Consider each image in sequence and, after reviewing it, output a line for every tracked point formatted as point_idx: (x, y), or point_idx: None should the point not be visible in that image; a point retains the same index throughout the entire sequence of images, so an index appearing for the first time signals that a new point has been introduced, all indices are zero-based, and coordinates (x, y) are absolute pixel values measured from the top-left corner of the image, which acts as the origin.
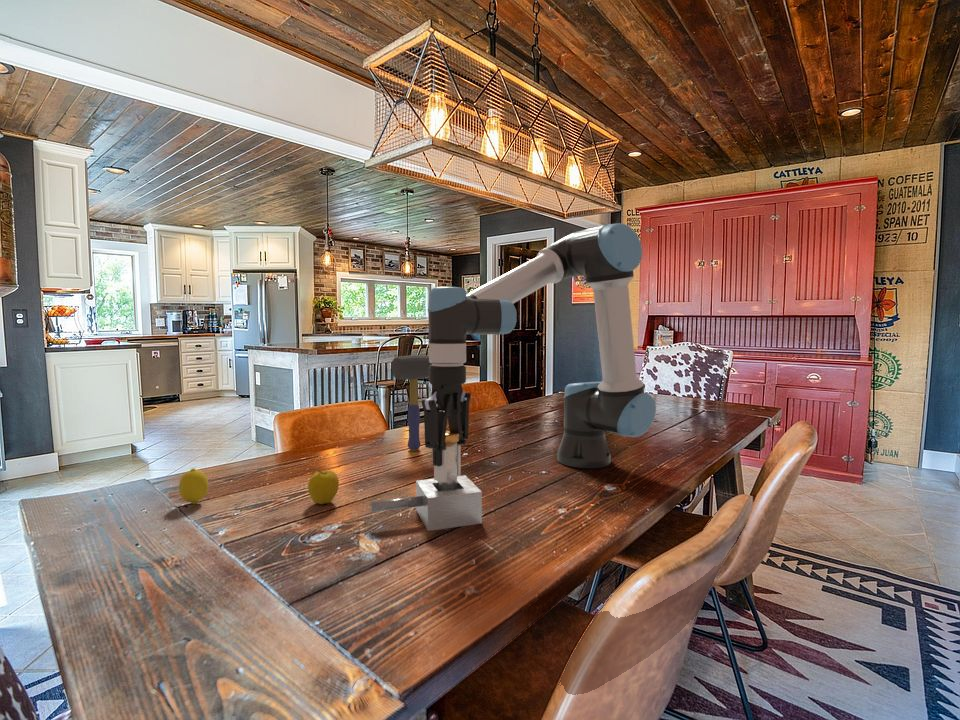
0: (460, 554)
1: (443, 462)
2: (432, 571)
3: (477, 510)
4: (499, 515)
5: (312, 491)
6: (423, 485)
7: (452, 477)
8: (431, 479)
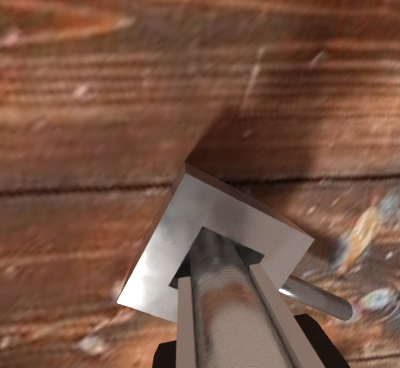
0: (309, 98)
1: (294, 323)
2: (379, 92)
3: (194, 170)
4: (126, 162)
5: None
6: None
7: (231, 268)
8: None
